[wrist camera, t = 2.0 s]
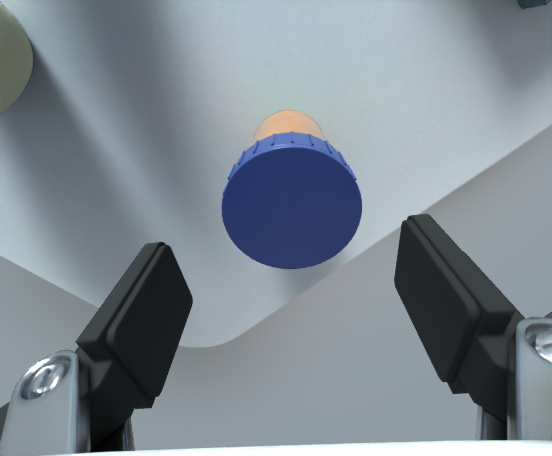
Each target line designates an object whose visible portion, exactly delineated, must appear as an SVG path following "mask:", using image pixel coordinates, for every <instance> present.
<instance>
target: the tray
mask: <svg viewBox="0 0 552 456" xmlns="http://www.w3.org/2000/svg"><path fill="white" fill-rule="evenodd" d="M550 1H551V0H518V2H519V4H520V6H521V8H522V9H526V8H530V7H536V6H541V5H546V4H548V3H549V2H550Z"/></svg>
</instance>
